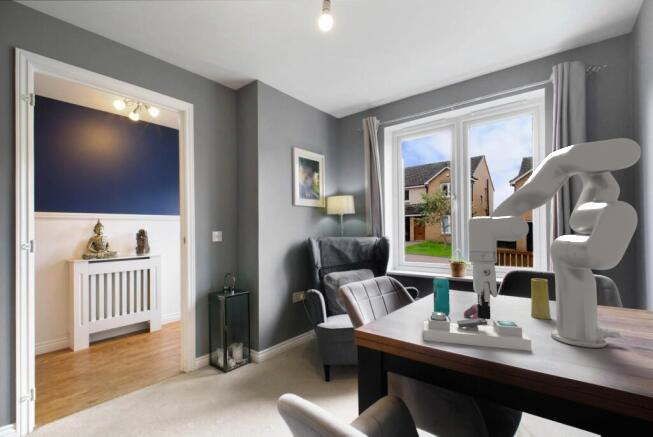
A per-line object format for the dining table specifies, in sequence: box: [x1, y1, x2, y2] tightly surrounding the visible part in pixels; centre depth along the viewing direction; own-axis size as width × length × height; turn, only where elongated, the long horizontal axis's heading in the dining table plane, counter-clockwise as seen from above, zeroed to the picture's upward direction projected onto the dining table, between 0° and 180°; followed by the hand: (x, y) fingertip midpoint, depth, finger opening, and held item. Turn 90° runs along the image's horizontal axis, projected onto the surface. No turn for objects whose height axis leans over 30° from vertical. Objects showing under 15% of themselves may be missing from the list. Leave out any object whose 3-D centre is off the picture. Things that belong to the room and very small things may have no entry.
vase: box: [530, 277, 552, 320], centre depth 113 cm, size 6×6×14 cm
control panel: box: [423, 314, 532, 352], centre depth 90 cm, size 28×10×6 cm, turn 73°
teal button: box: [499, 322, 515, 327], centre depth 87 cm, size 4×4×2 cm
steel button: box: [431, 311, 445, 321], centre depth 93 cm, size 4×4×2 cm
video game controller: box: [463, 303, 479, 319], centre depth 109 cm, size 10×5×7 cm, turn 169°
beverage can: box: [432, 275, 451, 318], centre depth 115 cm, size 6×6×15 cm
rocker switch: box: [456, 318, 489, 328], centre depth 90 cm, size 8×4×1 cm, turn 73°
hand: (483, 318), depth 89 cm, fingers closed
